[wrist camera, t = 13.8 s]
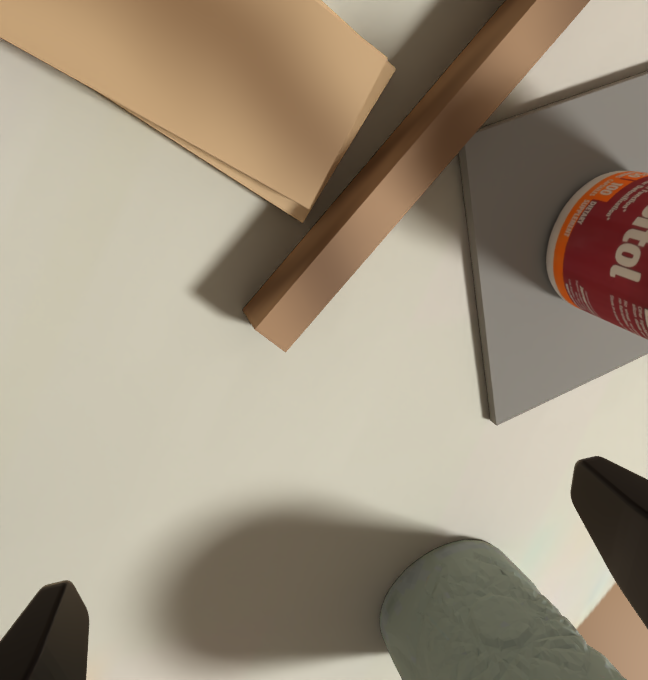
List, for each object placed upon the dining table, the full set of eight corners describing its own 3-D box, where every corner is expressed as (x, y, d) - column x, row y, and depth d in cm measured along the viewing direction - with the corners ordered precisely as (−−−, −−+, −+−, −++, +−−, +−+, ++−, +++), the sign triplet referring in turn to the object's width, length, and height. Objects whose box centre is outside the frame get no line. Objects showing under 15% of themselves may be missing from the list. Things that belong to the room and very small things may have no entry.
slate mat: (490, 420, 27) (496, 425, 27) (456, 136, 21) (464, 136, 20) (703, 320, 30) (711, 323, 30) (733, 41, 23) (745, 40, 23)
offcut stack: (288, 222, 20) (309, 237, 18) (-76, -7, 14) (-106, -24, 12) (380, 70, 19) (413, 67, 17) (30, -244, 13) (16, -306, 11)
